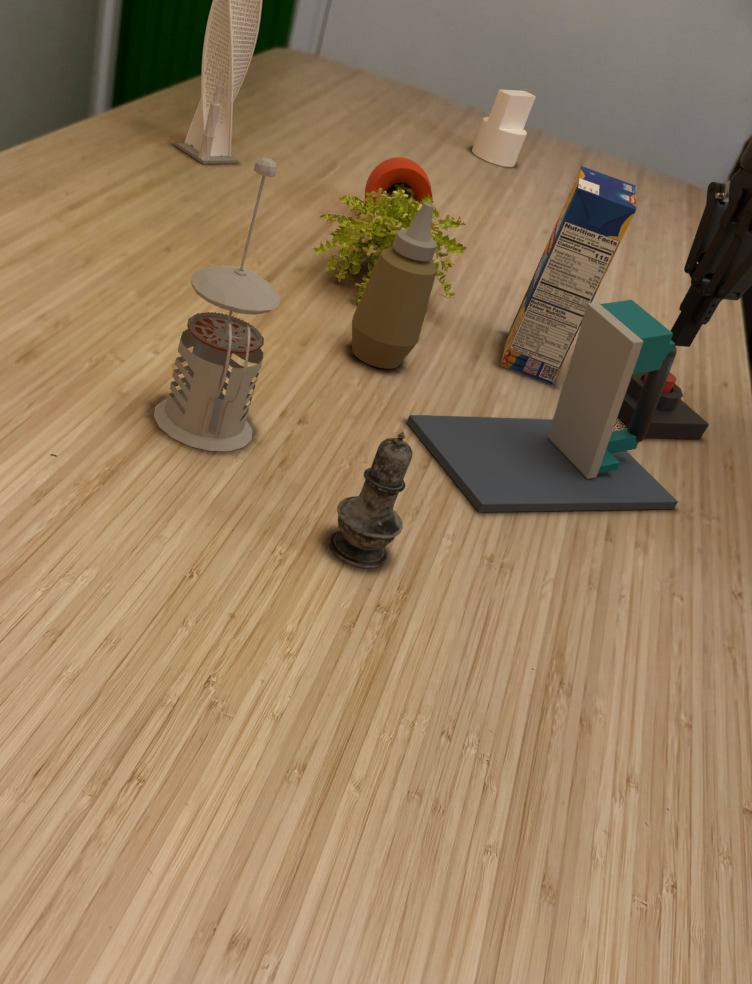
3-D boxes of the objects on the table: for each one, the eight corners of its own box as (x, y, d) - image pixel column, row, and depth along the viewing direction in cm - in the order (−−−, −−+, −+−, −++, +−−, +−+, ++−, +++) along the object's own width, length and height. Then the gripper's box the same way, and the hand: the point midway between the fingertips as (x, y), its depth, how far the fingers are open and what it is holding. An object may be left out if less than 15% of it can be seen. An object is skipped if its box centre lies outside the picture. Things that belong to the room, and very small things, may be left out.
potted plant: (306, 226, 165) (301, 299, 127) (329, 130, 158) (332, 178, 120) (421, 257, 167) (450, 338, 129) (450, 164, 159) (490, 221, 122)
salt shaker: (331, 521, 93) (372, 404, 86) (393, 542, 93) (440, 427, 86) (320, 556, 89) (363, 436, 81) (385, 578, 89) (434, 461, 81)
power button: (675, 395, 127) (682, 382, 126) (653, 394, 126) (660, 381, 125) (657, 379, 129) (664, 367, 128) (636, 378, 128) (643, 365, 127)
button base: (700, 439, 128) (717, 411, 126) (639, 438, 124) (656, 408, 121) (643, 388, 136) (658, 360, 133) (584, 385, 132) (598, 356, 129)
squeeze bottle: (381, 380, 117) (437, 224, 106) (328, 347, 120) (377, 191, 109) (421, 368, 123) (478, 217, 111) (370, 335, 126) (420, 186, 114)
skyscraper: (168, 141, 161) (207, -69, 143) (208, 141, 166) (249, -61, 148) (202, 163, 157) (246, -49, 140) (241, 163, 162) (288, -42, 145)
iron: (633, 342, 98) (714, 329, 101) (587, 302, 104) (665, 291, 106) (587, 479, 110) (661, 464, 113) (547, 437, 115) (619, 423, 118)
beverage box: (500, 366, 129) (578, 188, 115) (507, 334, 138) (581, 165, 124) (551, 385, 129) (636, 209, 115) (556, 352, 137) (635, 185, 123)
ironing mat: (674, 509, 112) (678, 501, 112) (478, 512, 101) (482, 504, 100) (592, 427, 123) (595, 420, 122) (406, 422, 111) (409, 414, 111)
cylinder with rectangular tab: (489, 148, 210) (513, 84, 203) (523, 166, 206) (548, 102, 199) (463, 148, 205) (486, 83, 197) (497, 167, 201) (522, 101, 193)
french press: (245, 403, 105) (313, 150, 89) (263, 468, 97) (342, 201, 81) (149, 389, 102) (202, 125, 86) (159, 455, 94) (220, 175, 78)
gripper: (727, 111, 111) (622, 314, 127) (810, 159, 103) (687, 370, 118) (775, 121, 115) (668, 318, 130) (859, 169, 106) (734, 373, 122)
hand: (677, 342), depth 124 cm, fingers closed
